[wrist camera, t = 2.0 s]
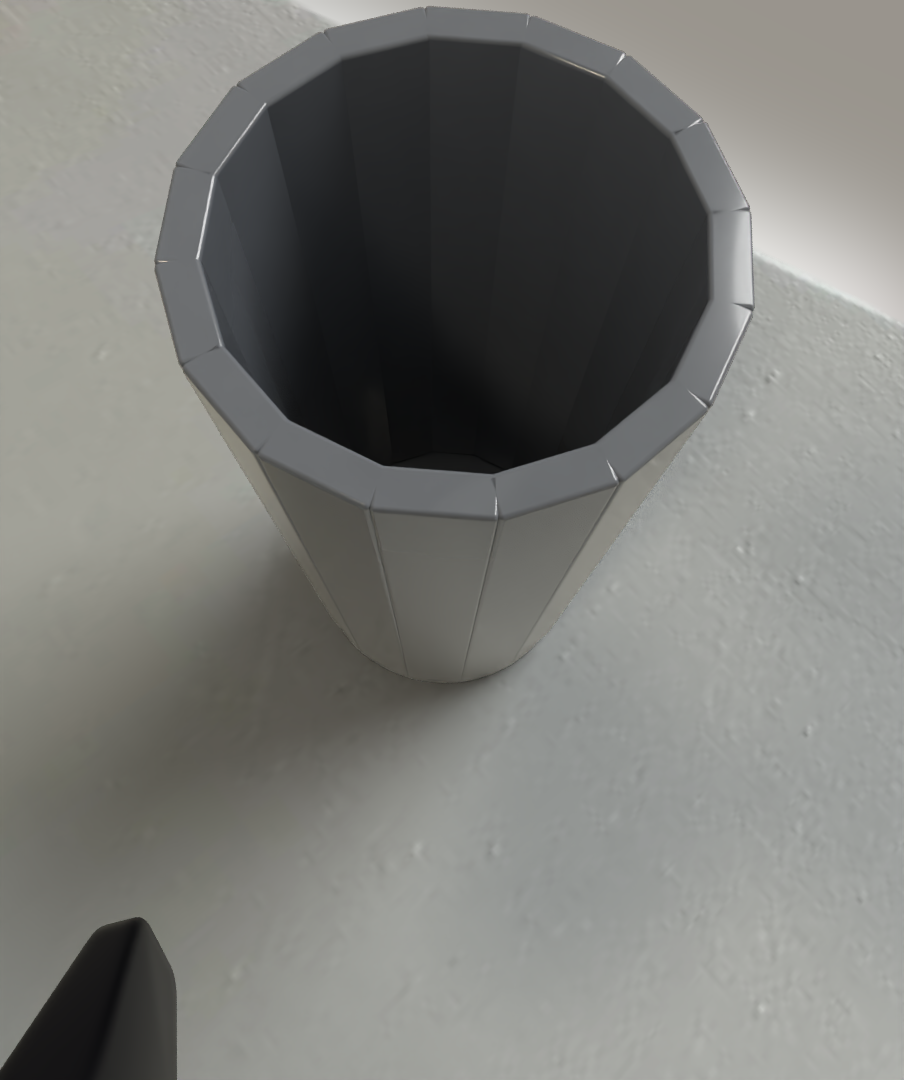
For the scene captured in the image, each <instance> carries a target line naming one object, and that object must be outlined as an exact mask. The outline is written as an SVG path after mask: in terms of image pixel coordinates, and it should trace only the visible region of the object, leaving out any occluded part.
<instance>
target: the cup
mask: <svg viewBox="0 0 904 1080" xmlns="http://www.w3.org/2000/svg"><path fill="white" fill-rule="evenodd" d="M154 262H155V275H156V279H157V282H158V286H159V290H160V294H161V298H162V302H163V306H164V309H165V313H166V317H167V321H168V325H169V329H170V333H171V336H172V340H173V344H174V348H175V352H176V356H177V360H178V363H179V365H180V367H181V368H182V370H183V373H184V374H185V376H186V378H187V379H188V381H189V383H190V384H191V386H192V388H193V389H194V391H195V393H196V394H197V396H198V398H199V399H200V401H201V403H202V404H203V406H204V408H205V409H206V411H207V413H208V414H209V416H210V418H211V419H212V421H213V423H214V424H215V426H216V427H217V429H218V431H219V432H220V434H221V436H222V437H223V439H224V441H225V442H226V444H227V446H228V447H229V449H230V451H231V452H232V454H233V456H234V457H235V459H236V461H237V462H238V464H239V466H240V467H241V469H242V471H243V472H244V474H245V476H246V477H247V479H248V480H249V482H250V484H251V485H252V487H253V489H254V490H255V492H256V494H257V495H258V497H259V499H260V500H261V502H262V504H263V505H264V507H265V509H266V510H267V512H268V514H269V515H270V517H271V519H272V520H273V522H274V524H275V525H276V527H277V529H278V530H279V532H280V534H281V535H282V537H283V538H284V540H285V542H286V543H287V545H288V547H289V548H290V550H291V552H292V553H293V555H294V557H295V558H296V560H297V562H298V563H299V565H300V567H301V568H302V570H303V572H304V573H305V575H306V577H307V578H308V580H309V582H310V583H311V585H312V587H313V588H314V590H315V591H316V593H317V595H318V596H319V598H320V600H321V601H322V603H323V605H324V606H325V608H326V610H327V611H328V613H329V615H330V616H331V618H332V619H333V620H334V621H335V622H336V624H337V625H338V626H339V627H340V628H341V630H342V631H343V633H344V634H345V635H346V637H347V638H348V639H349V640H350V641H351V642H352V643H353V644H354V646H355V647H356V648H357V649H358V650H359V651H360V652H361V653H363V655H365V656H367V657H368V658H369V659H371V660H372V661H373V662H375V663H377V664H378V665H380V666H382V667H383V668H385V669H387V670H389V671H392V672H394V673H396V674H398V675H401V676H404V677H407V678H411V679H414V680H418V681H425V682H432V683H457V682H465V681H471V680H475V679H478V678H482V677H486V676H488V675H491V674H493V673H496V672H498V671H500V670H502V669H504V668H506V667H508V666H509V665H511V664H513V663H514V662H516V661H517V660H518V659H520V658H521V657H522V656H524V655H525V654H526V653H528V652H529V651H530V650H531V649H532V648H533V647H534V646H535V645H536V644H537V643H538V642H539V641H540V640H541V639H542V638H543V637H544V636H545V635H546V634H548V632H549V631H550V630H551V628H552V627H553V626H554V624H555V623H556V621H557V620H558V619H559V617H560V616H561V615H562V613H563V612H564V610H565V609H566V608H567V606H568V605H569V603H570V602H571V601H572V599H573V598H574V597H575V595H576V594H577V592H578V591H579V590H580V588H581V587H582V585H583V584H584V583H585V581H586V580H587V579H588V577H589V576H590V574H591V573H592V572H593V570H594V569H595V567H596V566H597V565H598V563H599V562H600V561H601V559H602V558H603V556H604V555H605V554H606V552H607V551H608V549H609V548H610V547H611V545H612V544H613V543H614V541H615V540H616V538H617V537H618V536H619V534H620V533H621V531H622V530H623V529H624V527H625V526H626V525H627V523H628V522H629V520H630V519H631V518H632V516H633V515H634V513H635V512H636V511H637V509H638V508H639V507H640V505H641V504H642V502H643V501H644V500H645V498H646V497H647V495H648V494H649V493H650V491H651V490H652V489H653V487H654V486H655V484H656V483H657V482H658V480H659V479H660V477H661V476H662V475H663V473H664V472H665V471H666V469H667V468H668V466H669V465H670V464H671V462H672V461H673V459H674V458H675V457H676V455H677V454H678V453H679V451H680V450H681V448H682V447H683V446H684V444H685V443H686V441H687V440H688V439H689V437H690V436H691V435H692V433H693V432H694V430H695V429H696V428H697V426H698V425H699V423H700V422H701V421H702V419H703V418H704V417H705V415H706V414H707V412H708V411H709V410H710V408H711V407H712V405H713V404H714V401H715V399H716V397H717V395H718V393H719V390H720V388H721V386H722V384H723V382H724V379H725V377H726V375H727V373H728V371H729V368H730V366H731V364H732V362H733V360H734V357H735V355H736V353H737V351H738V348H739V346H740V344H741V342H742V340H743V337H744V335H745V333H746V331H747V329H748V326H749V324H750V322H751V320H752V318H753V310H754V308H755V303H754V276H753V248H752V221H751V212H750V206H749V204H748V202H747V200H746V198H745V196H744V194H743V192H742V190H741V188H740V186H739V184H738V182H737V180H736V179H735V177H734V175H733V173H732V171H731V169H730V167H729V165H728V163H727V161H726V159H725V157H724V155H723V153H722V151H721V149H720V147H719V145H718V143H717V141H716V139H715V138H714V136H713V134H712V132H711V130H710V128H709V126H708V124H707V123H706V122H703V119H702V117H701V116H700V115H698V114H697V113H696V112H695V111H694V110H693V109H692V108H690V107H689V106H688V105H687V104H686V103H685V102H683V101H682V100H681V99H680V98H679V97H678V96H677V95H675V94H674V93H673V92H672V91H671V90H670V89H669V88H667V87H666V86H665V85H664V84H663V83H661V82H660V81H659V80H658V79H657V78H656V77H655V76H653V75H652V74H651V73H650V72H649V71H648V70H647V69H646V68H644V67H643V66H642V65H641V64H640V63H639V62H637V61H636V60H635V59H634V58H633V57H631V56H626V53H625V52H623V51H621V50H619V49H616V48H614V47H611V46H609V45H606V44H604V43H601V42H599V41H596V40H594V39H591V38H589V37H586V36H584V35H581V34H579V33H576V32H574V31H571V30H569V29H566V28H564V27H562V26H559V25H556V24H554V23H552V22H549V21H547V20H544V19H542V18H539V17H537V16H531V17H530V16H529V14H527V13H515V12H501V11H489V10H475V9H462V8H449V7H436V6H435V7H434V6H427V7H426V8H425V9H424V8H423V7H419V8H414V9H410V10H406V11H401V12H397V13H393V14H388V15H384V16H380V17H376V18H371V19H367V20H363V21H358V22H354V23H350V24H346V25H341V26H337V27H333V28H328V29H326V30H324V33H323V32H318V33H316V34H315V35H313V36H312V37H310V38H308V39H307V40H305V41H304V42H302V43H300V44H299V45H297V46H296V47H294V48H292V49H291V50H289V51H288V52H286V53H284V54H283V55H281V56H280V57H278V58H276V59H275V60H273V61H271V62H270V63H268V64H267V65H265V66H263V67H262V68H260V69H259V70H257V71H255V72H254V73H252V74H251V75H249V76H247V77H246V78H244V79H243V80H241V81H239V82H238V84H237V86H233V87H232V88H231V89H230V91H229V92H228V93H227V95H226V96H225V97H224V99H223V100H222V101H221V103H220V104H219V105H218V107H217V108H216V109H215V111H214V112H213V113H212V115H211V116H210V117H209V119H208V120H207V121H206V123H205V124H204V126H203V127H202V128H201V130H200V131H199V132H198V134H197V135H196V136H195V138H194V139H193V140H192V142H191V143H190V144H189V146H188V147H187V148H186V150H185V151H184V152H183V154H182V155H181V156H180V158H179V159H178V160H177V162H176V167H175V168H174V170H173V175H172V180H171V184H170V189H169V194H168V198H167V203H166V208H165V213H164V217H163V222H162V227H161V231H160V236H159V241H158V245H157V250H156V255H155V260H154Z"/></svg>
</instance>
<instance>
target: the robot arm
mask: <svg viewBox="0 0 904 1080" xmlns="http://www.w3.org/2000/svg"><path fill="white" fill-rule="evenodd" d="M0 1080H177V995H176V983H175V978H174V974H173V970H172V968H171V965H170V963H169V962H168V960H167V958H166V956H165V954H164V952H163V950H162V948H161V946H160V944H159V942H158V940H157V939H156V937H155V935H154V933H153V931H152V929H151V927H150V925H149V924H148V923H147V921H146V920H144V919H143V918H141V917H135V918H131V919H127V920H123V921H119V922H115V923H112V924H108V925H105V926H102V927H100V928H99V929H97V930H96V931H95V932H94V933H93V934H92V936H91V937H90V938H89V940H88V941H87V943H86V944H85V946H84V947H83V948H82V950H81V951H80V953H79V954H78V956H77V957H76V959H75V960H74V962H73V963H72V965H71V966H70V968H69V969H68V971H67V972H66V974H65V975H64V977H63V978H62V980H61V981H60V982H59V984H58V985H57V987H56V988H55V990H54V991H53V993H52V994H51V996H50V997H49V999H48V1000H47V1002H46V1003H45V1005H44V1006H43V1008H42V1009H41V1011H40V1012H39V1014H38V1015H37V1016H36V1018H35V1019H34V1021H33V1022H32V1024H31V1025H30V1027H29V1028H28V1030H27V1031H26V1033H25V1034H24V1036H23V1037H22V1039H21V1040H20V1042H19V1043H18V1045H17V1046H16V1048H15V1049H14V1050H13V1052H12V1053H11V1055H10V1056H9V1058H8V1059H7V1061H6V1062H5V1064H4V1065H3V1067H2V1068H1V1070H0Z"/></svg>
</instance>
